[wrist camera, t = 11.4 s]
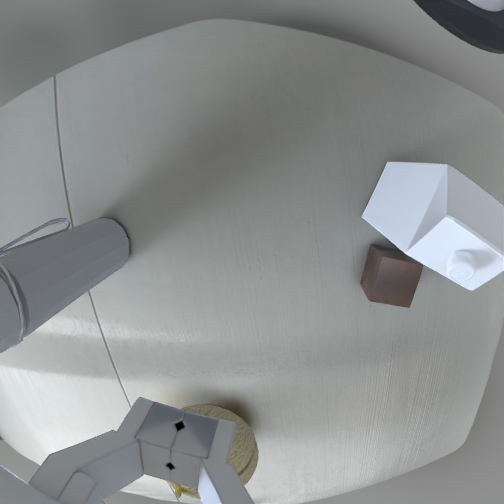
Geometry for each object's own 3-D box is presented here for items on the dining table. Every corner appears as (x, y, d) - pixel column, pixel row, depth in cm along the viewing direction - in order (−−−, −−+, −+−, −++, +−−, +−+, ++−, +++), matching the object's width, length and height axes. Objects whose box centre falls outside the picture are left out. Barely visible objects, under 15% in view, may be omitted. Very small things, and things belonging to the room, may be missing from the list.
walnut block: (370, 243, 35) (382, 256, 31) (408, 252, 35) (423, 265, 30) (359, 284, 37) (368, 301, 32) (396, 290, 37) (409, 308, 32)
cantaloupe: (281, 416, 44) (275, 496, 29) (230, 457, 48) (215, 526, 34) (196, 367, 43) (162, 444, 28) (156, 417, 47) (123, 483, 33)
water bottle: (145, 248, 39) (-2, 351, 15) (108, 281, 41) (-23, 384, 17) (103, 191, 37) (-65, 238, 13) (70, 228, 39) (-77, 293, 15)
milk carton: (386, 160, 33) (476, 165, 15) (436, 190, 33) (541, 221, 15) (360, 217, 35) (425, 273, 17) (410, 243, 35) (496, 313, 17)
